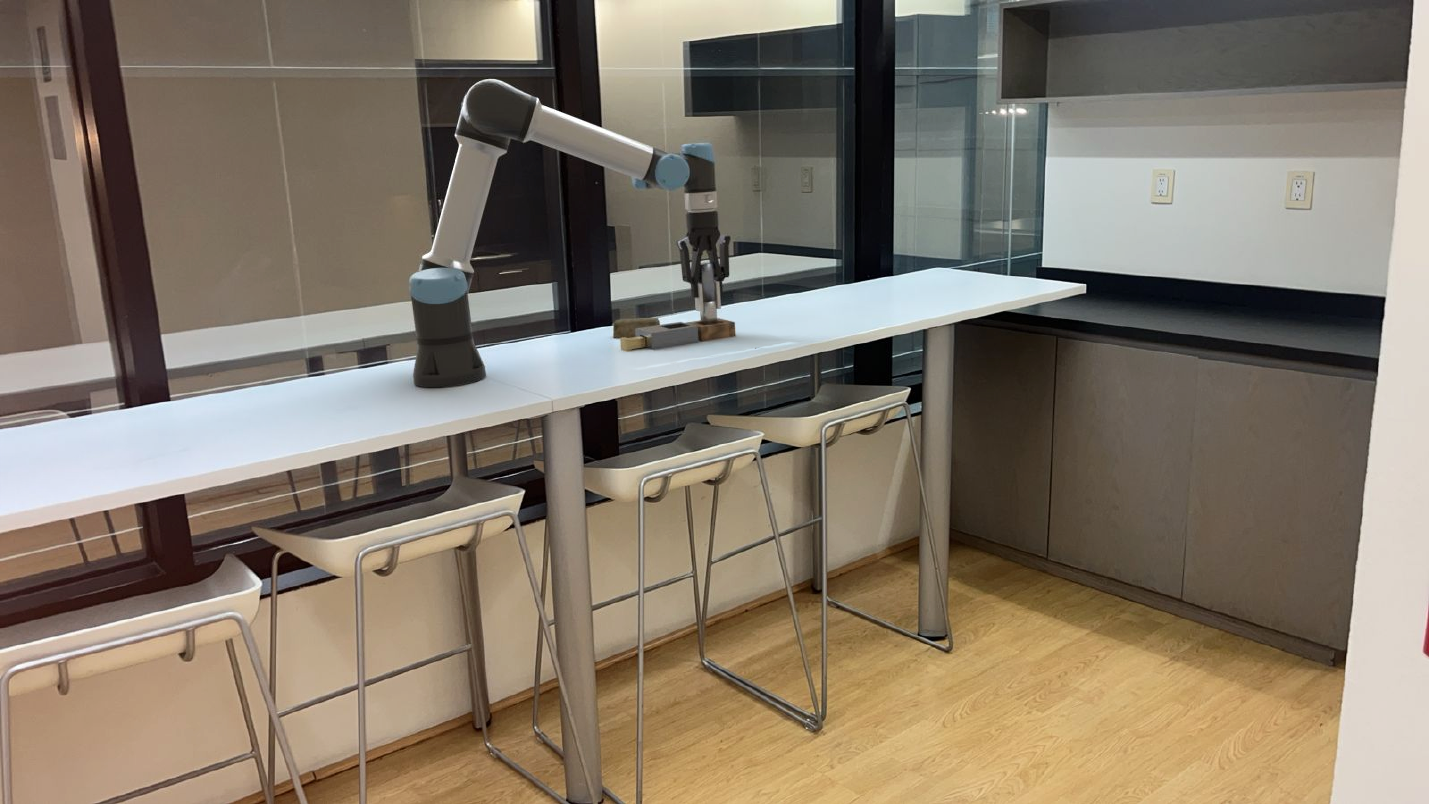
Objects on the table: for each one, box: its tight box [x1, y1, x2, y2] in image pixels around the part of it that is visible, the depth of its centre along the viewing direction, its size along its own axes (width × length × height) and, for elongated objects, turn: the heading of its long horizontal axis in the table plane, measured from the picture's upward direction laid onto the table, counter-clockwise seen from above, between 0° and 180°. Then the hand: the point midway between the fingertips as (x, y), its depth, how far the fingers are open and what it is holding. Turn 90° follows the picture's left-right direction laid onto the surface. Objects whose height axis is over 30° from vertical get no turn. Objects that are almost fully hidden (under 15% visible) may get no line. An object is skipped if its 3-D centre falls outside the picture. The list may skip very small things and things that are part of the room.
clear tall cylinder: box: [699, 261, 718, 325], centre depth 253 cm, size 4×4×16 cm
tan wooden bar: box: [619, 336, 647, 352], centre depth 246 cm, size 9×3×3 cm, turn 118°
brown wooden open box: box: [685, 317, 736, 342], centre depth 254 cm, size 9×9×4 cm
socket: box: [635, 321, 700, 351], centre depth 249 cm, size 12×9×4 cm
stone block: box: [612, 317, 661, 339], centre depth 263 cm, size 6×12×5 cm, turn 81°
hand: (708, 309), depth 253 cm, fingers closed on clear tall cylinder, 4 cm apart
